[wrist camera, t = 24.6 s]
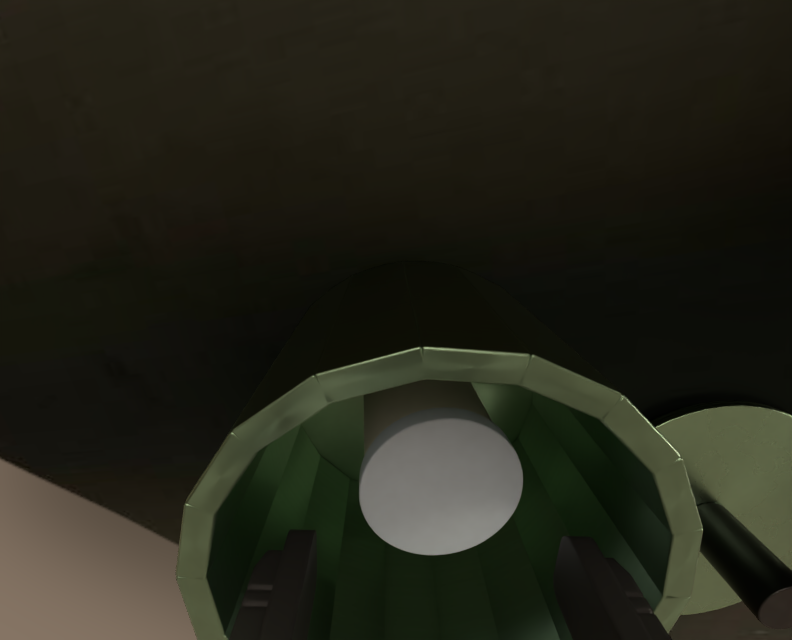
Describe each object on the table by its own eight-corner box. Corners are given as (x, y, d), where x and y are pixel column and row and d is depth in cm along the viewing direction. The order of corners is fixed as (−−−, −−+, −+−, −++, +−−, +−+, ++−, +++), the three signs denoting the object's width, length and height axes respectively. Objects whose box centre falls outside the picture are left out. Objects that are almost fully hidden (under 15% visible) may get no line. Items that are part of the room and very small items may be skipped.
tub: (388, 325, 19) (402, 394, 13) (493, 368, 20) (554, 451, 14) (341, 424, 21) (333, 531, 14) (442, 458, 22) (475, 572, 15)
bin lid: (662, 353, 21) (771, 418, 15) (872, 450, 23) (1039, 541, 17) (520, 555, 25) (562, 670, 19) (710, 622, 27) (801, 744, 21)
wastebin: (340, 211, 18) (280, 243, 8) (596, 329, 20) (818, 479, 10) (245, 447, 22) (117, 681, 12) (469, 527, 24) (533, 787, 14)
